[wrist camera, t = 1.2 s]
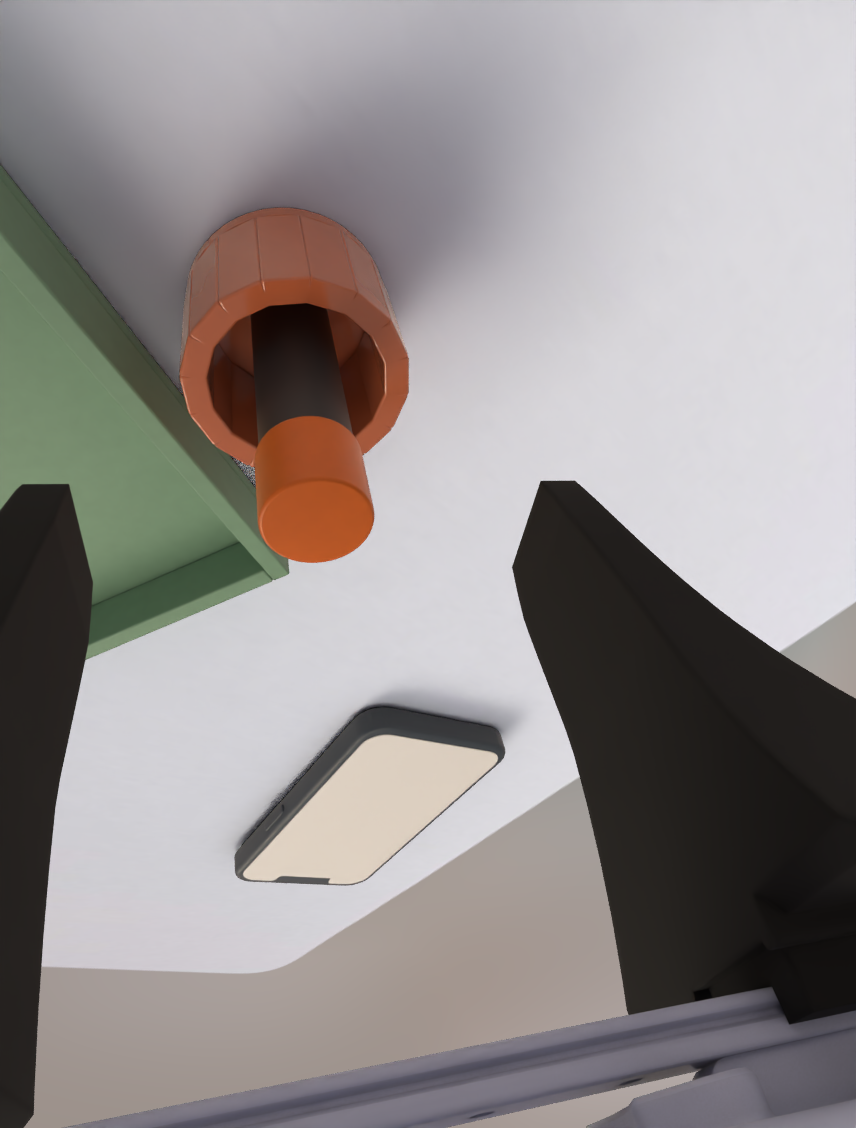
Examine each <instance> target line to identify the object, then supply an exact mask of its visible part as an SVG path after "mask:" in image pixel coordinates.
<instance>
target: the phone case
mask: <svg viewBox="0 0 856 1128" xmlns="http://www.w3.org/2000/svg"><path fill="white" fill-rule="evenodd" d="M504 755H505V748H504V744H503V741H502V738H501V735H500V733H499V732H498V731H497V730H496V729H494V728H492V727H488V726H483V725H477V724H472V723H467V722H462V721H457V720H452V719H446V718H441V717H436V716H431V715H426V714H420V713H415V712H410V711H405V710H400V709H395V708H389V707H379V708H373V709H369V710H367V711H364V712H362V713H361V714H359V715H358V716H356V717H355V718H354V719H353V721H352V722H351V723H350V724H349V725H348V726H347V727H346V728H345V730H344V731H343V732H342V733H341V734H340V735H339V736H338V738H337V739H336V740H335V741H334V742H333V743H332V744H331V745H330V747H329V748H328V749H327V750H326V751H325V752H324V753H323V754H322V756H321V757H320V758H319V759H318V760H317V761H316V762H315V764H314V765H313V766H312V767H311V768H310V769H309V770H308V771H307V773H306V774H305V775H304V776H303V777H302V778H301V779H300V780H299V782H298V783H297V784H296V785H295V786H294V787H293V788H292V790H291V791H290V792H289V793H288V794H287V795H286V796H285V797H284V799H283V800H282V801H281V802H280V803H279V804H278V805H277V806H276V808H275V809H274V810H273V811H272V812H271V813H270V814H269V816H268V817H267V818H266V819H265V820H264V821H263V822H262V823H261V825H260V826H259V827H258V828H257V829H256V830H255V831H254V832H253V834H252V835H251V836H250V837H249V838H248V839H247V840H246V842H245V843H244V844H243V845H242V846H241V847H240V848H239V849H238V851H237V852H236V854H235V873H236V876H237V877H238V878H240V879H242V880H245V881H253V882H276V883H299V884H322V885H354V884H358V883H361V882H363V881H365V880H367V879H368V878H370V877H371V876H372V875H373V874H374V873H375V872H376V871H377V870H379V869H380V868H381V867H382V866H383V865H384V864H385V863H387V862H388V861H389V860H390V859H391V858H392V857H393V856H394V855H396V854H397V853H398V852H399V851H400V850H401V849H402V848H403V847H405V846H406V845H407V844H408V843H409V842H410V841H411V840H413V839H414V838H415V837H416V836H417V835H418V834H419V833H420V832H422V831H423V830H424V829H425V828H426V827H427V826H428V825H429V824H431V823H432V822H433V821H434V820H435V819H436V818H437V817H439V816H440V815H441V814H442V813H443V812H444V811H445V810H446V809H448V808H449V807H450V806H451V805H452V804H453V803H454V802H455V801H457V800H458V799H459V798H460V797H461V796H462V795H463V794H465V793H466V792H467V791H468V790H469V789H470V788H471V787H472V786H474V785H475V784H476V783H477V782H478V781H479V780H480V779H481V778H483V777H484V776H485V775H486V774H487V773H488V772H489V771H491V770H492V769H493V768H494V767H495V766H496V765H497V764H498V763H500V762H501V761H502V759H503V758H504Z"/></svg>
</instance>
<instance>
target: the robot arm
mask: <svg viewBox="0 0 856 1128" xmlns="http://www.w3.org/2000/svg"><path fill="white" fill-rule="evenodd" d="M512 568H513V573H514V578H515V583H516V587H517V592H518V597H519V601H520V605H521V609H522V613H523V617H524V621H525V623H526V626H527V629H528V632H529V634H530V637H531V640H532V643H533V645H534V648H535V651H536V653H537V656H538V659H539V661H540V664H541V666H542V669H543V672H544V674H545V677H546V679H547V682H548V685H549V687H550V690H551V692H552V695H553V698H554V700H555V703H556V706H557V708H558V711H559V713H560V716H561V719H562V721H563V724H564V726H565V729H566V732H567V735H568V738H569V741H570V744H571V747H572V750H573V753H574V756H575V760H576V764H577V768H578V772H579V775H580V779H581V783H582V786H583V791H584V794H585V798H586V802H587V806H588V810H589V814H590V818H591V823H592V827H593V831H594V836H595V840H596V844H597V848H598V853H599V857H600V862H601V866H602V872H603V877H604V881H605V886H606V891H607V896H608V901H609V906H610V911H611V916H612V921H613V927H614V933H615V939H616V945H617V950H618V956H619V962H620V968H621V974H622V980H623V987H624V994H625V1000H626V1007H627V1011H628V1014H629V1015H626V1016H622V1017H616V1018H611V1019H606V1020H602V1021H596V1022H592V1023H586V1024H581V1025H576V1026H571V1027H566V1028H561V1029H556V1030H551V1031H546V1032H541V1033H536V1034H531V1035H526V1036H522V1037H516V1038H511V1039H506V1040H501V1041H496V1042H491V1043H486V1044H481V1045H476V1046H471V1047H466V1048H461V1049H456V1050H451V1051H446V1052H441V1053H436V1054H430V1055H426V1056H420V1057H415V1058H410V1059H406V1060H401V1061H395V1062H390V1063H385V1064H380V1065H375V1066H370V1067H365V1068H360V1069H355V1070H350V1071H345V1072H340V1073H335V1074H330V1075H325V1076H320V1077H315V1078H310V1079H305V1080H300V1081H295V1082H290V1083H285V1084H280V1085H275V1086H270V1087H265V1088H260V1089H255V1090H250V1091H245V1092H240V1093H235V1094H230V1095H225V1096H219V1097H215V1098H210V1099H204V1100H199V1101H194V1102H189V1103H184V1104H180V1105H175V1106H169V1107H164V1108H159V1109H154V1110H150V1111H144V1112H139V1113H134V1114H129V1115H124V1116H119V1117H114V1118H109V1119H104V1120H99V1121H94V1122H89V1123H84V1124H79V1125H74V1126H69V1127H64V1128H446V1127H451V1126H455V1125H460V1124H464V1123H469V1122H473V1121H477V1120H482V1119H486V1118H491V1117H495V1116H500V1115H504V1114H509V1113H513V1112H517V1111H522V1110H526V1109H531V1108H535V1107H540V1106H544V1105H549V1104H553V1103H558V1102H562V1101H567V1100H571V1099H576V1098H580V1097H584V1096H589V1095H593V1094H597V1093H602V1092H606V1091H611V1090H616V1089H619V1088H624V1087H629V1086H633V1085H638V1084H642V1083H646V1082H651V1081H656V1080H660V1079H664V1078H669V1077H673V1076H678V1075H682V1074H686V1073H691V1072H695V1071H698V1072H696V1074H695V1076H694V1078H693V1080H692V1081H690V1082H686V1083H683V1084H680V1085H677V1086H673V1087H670V1088H666V1089H663V1090H660V1091H657V1092H653V1093H650V1094H647V1095H644V1096H641V1097H637V1098H634V1099H633V1100H632V1102H631V1103H630V1104H629V1106H628V1107H626V1108H624V1109H622V1110H620V1111H619V1112H617V1113H615V1114H613V1115H611V1116H609V1117H607V1118H605V1119H602V1120H600V1121H597V1122H595V1123H593V1124H590V1125H588V1126H587V1127H586V1128H856V699H855V698H854V697H852V696H850V695H848V694H846V693H844V692H843V691H841V690H839V689H837V688H836V687H834V686H832V685H831V684H829V683H827V682H826V681H824V680H822V679H821V678H819V677H818V676H816V675H814V674H813V673H811V672H809V671H808V670H806V669H804V668H803V667H801V666H800V665H798V664H796V663H794V662H793V661H791V660H790V659H788V658H787V657H785V656H784V655H782V654H781V653H779V652H778V651H776V650H775V649H773V648H772V647H770V646H769V645H767V644H766V643H765V642H763V641H762V640H760V639H759V638H757V637H756V636H755V635H753V634H752V633H750V632H749V631H748V630H746V629H745V628H743V627H742V626H741V625H739V624H738V623H736V622H735V621H734V620H732V619H731V618H730V617H728V616H727V615H726V614H724V613H723V612H722V611H721V610H719V609H718V608H717V607H715V606H714V605H713V604H712V603H711V602H709V601H708V600H707V599H706V598H704V597H703V596H702V595H701V594H700V593H698V592H697V591H696V590H695V589H693V588H692V587H691V586H690V585H689V584H687V583H686V582H685V581H684V580H683V579H682V578H680V577H679V576H678V575H677V574H676V573H675V572H673V571H672V570H671V569H670V568H669V567H668V566H667V565H666V564H664V563H663V562H662V561H661V560H660V559H659V558H658V557H657V556H656V555H654V554H653V553H652V552H651V551H650V550H649V549H648V548H647V547H646V546H645V545H644V544H642V543H641V542H640V541H639V540H638V539H637V538H636V537H635V536H634V535H633V534H632V533H631V532H630V531H629V530H628V529H626V528H625V527H624V526H623V525H622V524H621V523H620V522H619V521H618V520H617V519H616V518H615V517H614V516H613V515H612V514H611V513H610V512H609V511H607V510H606V509H605V508H604V507H603V506H602V505H601V504H600V503H599V502H598V501H597V500H596V499H595V498H594V497H593V496H591V495H590V494H589V493H588V492H587V491H586V490H585V489H584V488H583V487H581V486H580V485H579V484H578V483H577V482H576V481H541V482H540V485H539V488H538V491H537V494H536V497H535V500H534V503H533V506H532V509H531V512H530V515H529V518H528V521H527V524H526V527H525V530H524V533H523V536H522V539H521V542H520V545H519V548H518V551H517V554H516V557H515V560H514V563H513V566H512ZM92 591H93V580H92V576H91V572H90V568H89V563H88V559H87V555H86V551H85V547H84V543H83V539H82V535H81V531H80V527H79V523H78V519H77V515H76V510H75V506H74V502H73V498H72V494H71V490H70V486H69V484H22V485H21V486H20V487H18V488H17V489H16V490H15V491H14V493H13V494H12V495H11V497H10V498H9V499H8V501H7V502H6V503H5V504H4V506H3V507H2V508H1V510H0V1128H24V1126H25V1125H26V1124H27V1123H28V1121H29V1120H30V1118H31V1117H32V1116H33V1113H34V1086H35V1066H36V1046H37V1026H38V1005H39V992H40V977H41V963H42V948H43V934H44V922H45V910H46V898H47V887H48V875H49V864H50V855H51V845H52V835H53V825H54V815H55V806H56V800H57V794H58V788H59V782H60V776H61V771H62V767H63V762H64V757H65V753H66V748H67V743H68V739H69V734H70V729H71V725H72V720H73V715H74V711H75V706H76V701H77V697H78V692H79V687H80V683H81V678H82V673H83V668H84V663H85V658H86V653H87V648H88V643H89V632H90V620H91V606H92Z"/></svg>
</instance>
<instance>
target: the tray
mask: <svg viewBox="0 0 856 1128" xmlns="http://www.w3.org/2000/svg"><path fill="white" fill-rule="evenodd" d="M22 484H69V486H70V490H71V494H72V498H73V502H74V506H75V510H76V515H77V519H78V523H79V527H80V531H81V535H82V539H83V543H84V547H85V551H86V555H87V559H88V563H89V568H90V572H91V576H92V580H93V591H92V606H91V620H90V632H89V643H88V648H87V653H86V658H85V660H86V659H89V658H91V657H93V656H96V655H98V654H101V653H103V652H105V651H108V650H110V649H112V648H115V647H117V646H120V645H122V644H124V643H127V642H129V641H131V640H134V639H136V638H139V637H141V636H143V635H146V634H148V633H150V632H153V631H155V630H158V629H160V628H162V627H165V626H167V625H169V624H172V623H174V622H176V621H179V620H181V619H184V618H186V617H188V616H191V615H193V614H195V613H198V612H200V611H203V610H205V609H207V608H210V607H212V606H214V605H217V604H219V603H222V602H224V601H226V600H229V599H231V598H233V597H236V596H238V595H241V594H243V593H245V592H248V591H250V590H252V589H255V588H257V587H260V586H262V585H264V584H267V583H269V582H271V581H272V580H276V579H279V578H281V577H283V576H286V575H288V574H289V565H288V558H286V557H283V556H281V555H279V554H278V553H276V552H275V551H273V550H272V549H271V548H270V547H269V546H268V545H267V544H266V542H265V541H264V540H263V538H262V536H261V534H260V531H259V528H258V517H257V498H256V489H255V487H254V486H253V485H252V483H251V482H250V481H249V480H248V478H247V477H246V476H245V475H244V473H243V472H242V471H241V469H240V468H239V467H238V466H237V464H236V463H235V462H234V461H233V459H232V458H231V457H230V456H229V454H227V453H226V452H224V451H222V450H220V449H219V448H217V447H216V446H215V445H214V444H212V442H211V441H210V440H209V439H208V437H207V436H206V435H205V434H204V432H203V431H202V430H201V429H200V427H199V426H198V425H197V424H196V422H195V421H194V420H193V419H192V417H191V416H190V414H189V413H188V410H187V406H186V402H185V398H184V397H183V396H182V395H181V393H180V392H179V391H178V390H177V388H176V387H175V386H174V384H173V383H172V382H171V381H170V379H169V378H168V377H167V376H166V374H165V373H164V372H163V370H162V369H161V368H160V367H159V365H158V364H157V363H156V362H155V360H154V359H153V358H152V357H151V355H150V354H149V353H148V351H147V350H146V349H145V348H144V346H143V345H142V344H141V343H140V341H139V340H138V339H137V338H136V336H135V335H134V334H133V332H132V331H131V330H130V329H129V327H128V326H127V325H126V324H125V322H124V321H123V320H122V318H121V317H120V316H119V315H118V313H117V312H116V311H115V310H114V308H113V307H112V306H111V305H110V303H109V302H108V301H107V299H106V298H105V297H104V296H103V294H102V293H101V292H100V291H99V289H98V288H97V287H96V285H95V284H94V283H93V282H92V280H91V279H90V278H89V277H88V275H87V274H86V273H85V272H84V270H83V269H82V268H81V266H80V265H79V264H78V263H77V261H76V260H75V259H74V258H73V256H72V255H71V254H70V252H69V251H68V250H67V249H66V247H65V246H64V245H63V244H62V242H61V241H60V240H59V239H58V237H57V236H56V235H55V233H54V232H53V231H52V230H51V228H50V227H49V226H48V225H47V223H46V222H45V221H44V219H43V218H42V217H41V216H40V214H39V213H38V212H37V211H36V209H35V208H34V207H33V206H32V204H31V203H30V202H29V200H28V199H27V198H26V197H25V195H24V194H23V193H22V192H21V190H20V189H19V188H18V186H17V185H16V184H15V183H14V181H13V180H12V179H11V178H10V176H9V175H8V174H7V173H6V171H5V170H4V169H3V167H2V166H1V165H0V510H1V508H2V507H3V506H4V504H5V503H6V502H7V501H8V499H9V498H10V497H11V495H12V494H13V493H14V491H15V490H16V489H17V488H18V487H20V486H21V485H22Z"/></svg>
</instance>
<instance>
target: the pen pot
mask: <svg viewBox="0 0 856 1128" xmlns="http://www.w3.org/2000/svg"><path fill="white" fill-rule="evenodd" d="M302 303H309V304H312V305H315V306H319V307H322V308H325V309H327V312H328V317H329V322H330V326H331V331H332V336H333V341H334V346H335V350H336V355H337V360H338V365H339V370H340V375H341V379H342V384H343V389H344V394H345V399H346V404H347V408H348V413H349V418H350V423H351V428H352V433H353V435H354V436H355V438H356V439H357V441H358V443H359V445H360V448H361V452H362V456H363V455H364V453H367V452H368V451H369V450H370V449H371V448H372V447H373V446H374V445H376V444H377V443H378V442H379V441H380V440H381V439H382V438H383V437H384V436H385V435H386V434H387V433H388V432H389V431H390V430H391V428H392V427H393V426H394V424H395V422H396V420H397V418H398V416H399V413H400V411H401V409H402V407H403V405H404V403H405V400H406V398H407V394H408V392H409V358H408V353H407V350H406V347H405V344H404V341H403V338H402V335H401V332H400V329H399V326H398V323H397V320H396V317H395V314H394V311H393V308H392V305H391V302H390V299H389V296H388V293H387V290H386V288H385V286H384V284H383V281H382V279H381V276H380V273H379V271H378V268H377V266H376V264H375V262H374V260H373V259H372V257H371V255H370V254H369V252H368V251H367V250H366V248H365V247H364V245H363V244H362V243H361V242H360V241H359V240H358V239H357V238H356V237H355V236H354V235H353V234H352V233H350V232H349V231H348V230H347V229H345V228H344V227H343V226H341V225H339V224H338V223H336V222H335V221H333V220H331V219H329V218H327V217H324V216H322V215H320V214H317V213H313V212H310V211H307V210H301V209H295V208H269V209H261V210H258V211H254V212H250V213H247V214H245V215H242V216H240V217H237V218H235V219H233V220H232V221H230V222H228V223H227V224H225V225H223V226H222V227H221V228H220V229H219V230H217V231H216V232H215V233H214V234H213V235H212V236H211V237H210V238H209V239H208V240H207V241H206V242H205V243H204V245H203V246H202V248H201V249H200V251H199V252H198V254H197V255H196V258H195V260H194V262H193V264H192V266H191V269H190V273H189V276H188V280H187V287H186V296H185V300H184V307H183V323H182V339H181V355H180V371H179V372H180V375H179V378H180V382H181V386H182V390H183V394H184V398H185V402H186V406H187V410H188V413H189V414H190V416H191V417H192V419H193V420H194V421H195V422H196V424H197V425H198V426H199V427H200V429H201V430H202V431H203V432H204V434H205V435H206V436H207V437H208V439H209V440H210V441H211V442H212V444H214V445H215V446H216V447H217V448H219V449H220V450H222V451H224V452H226V453H227V454H229V455H231V456H232V457H234V458H236V459H238V460H239V461H241V462H243V463H244V464H246V465H250V466H251V467H255V462H254V460H255V453H256V449H257V447H258V429H257V413H256V397H255V381H254V365H253V349H252V333H251V317H250V316H251V314H253V313H255V312H257V311H259V310H262V309H264V308H266V307H268V306H273V305H287V304H302Z"/></svg>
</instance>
